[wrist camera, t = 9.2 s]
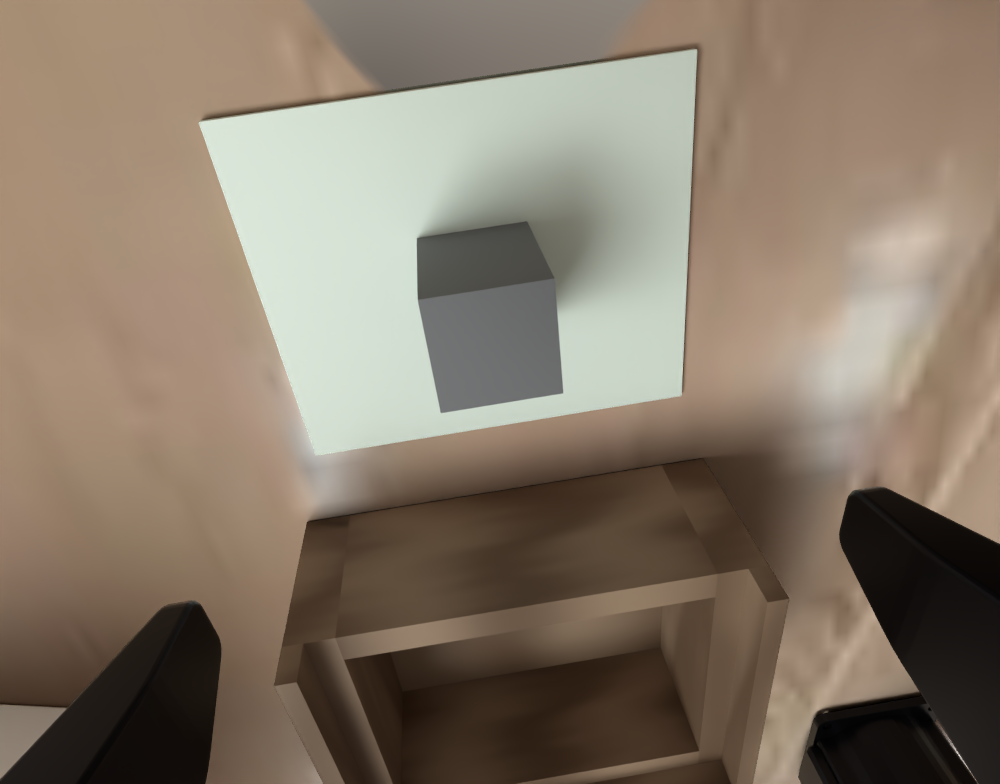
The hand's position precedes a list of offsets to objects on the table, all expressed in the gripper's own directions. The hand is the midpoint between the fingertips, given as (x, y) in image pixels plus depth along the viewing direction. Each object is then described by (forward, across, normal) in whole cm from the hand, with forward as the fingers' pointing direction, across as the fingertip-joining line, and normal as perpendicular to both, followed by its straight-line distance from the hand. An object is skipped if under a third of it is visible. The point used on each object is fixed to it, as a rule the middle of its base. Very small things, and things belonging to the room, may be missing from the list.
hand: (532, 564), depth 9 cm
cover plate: (+12, 0, 0) cm, 12 cm away
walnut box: (+11, 0, +14) cm, 17 cm away
